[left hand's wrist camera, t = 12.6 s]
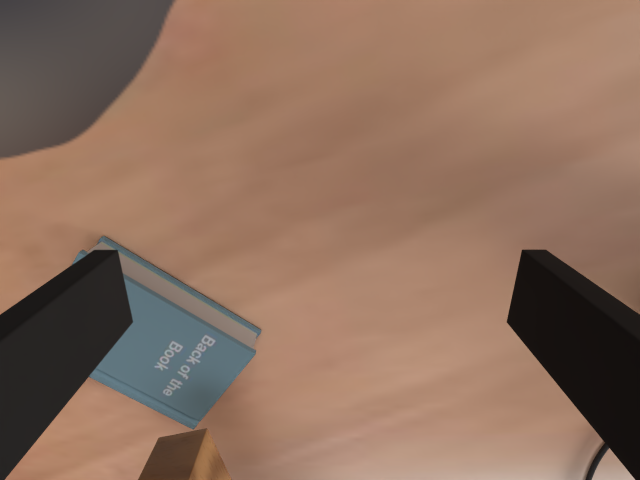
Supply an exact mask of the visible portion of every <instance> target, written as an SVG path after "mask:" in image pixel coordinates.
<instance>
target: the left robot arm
mask: <svg viewBox="0 0 640 480" xmlns="http://www.w3.org/2000/svg"><path fill="white" fill-rule="evenodd" d="M132 323H133V319H132V314H131V309H130V305H129V300H128V295H127V291H126V286H125V281H124V276H123V272H122V267H121V262H120V258H119V253H118V250H93V251H92V252H90V253H89V254H87V255H86V256H85V257H83V258H82V259H80V260H79V261H77V262H76V263H74V264H73V265H72V266H70V267H69V268H67V269H66V270H64V271H63V272H61V273H60V274H59V275H57V276H56V277H54V278H53V279H51V280H50V281H48V282H47V283H46V284H44V285H43V286H41V287H40V288H38V289H37V290H35V291H34V292H33V293H31V294H30V295H28V296H27V297H25V298H24V299H22V300H21V301H20V302H18V303H17V304H15V305H14V306H12V307H11V308H9V309H8V310H7V311H5V312H4V313H2V314H1V315H0V480H5V478H6V477H7V476H8V475H9V474H10V472H11V471H12V470H13V469H14V467H15V466H16V465H17V464H18V463H19V461H20V460H21V459H22V458H23V456H24V455H25V454H26V453H27V452H28V450H29V449H30V448H31V447H32V445H33V444H34V443H35V442H36V441H37V439H38V438H39V437H40V436H41V434H42V433H43V432H44V431H45V429H46V428H47V427H48V426H49V425H50V423H51V422H52V421H53V420H54V418H55V417H56V416H57V415H58V414H59V412H60V411H61V410H62V409H63V407H64V406H65V405H66V404H67V403H68V401H69V400H70V399H71V398H72V396H73V395H74V394H75V393H76V392H77V390H78V389H79V388H80V387H81V385H82V384H83V383H84V382H85V381H86V379H87V378H88V377H89V376H90V374H91V373H92V372H93V371H94V370H95V368H96V367H97V366H98V365H99V363H100V362H101V361H102V360H103V358H104V357H105V356H106V355H107V354H108V352H109V351H110V350H111V349H112V347H113V346H114V345H115V344H116V343H117V341H118V340H119V339H120V338H121V336H122V335H123V334H124V333H125V332H126V330H127V329H128V328H129V327H130V325H131V324H132ZM507 323H508V324H509V325H510V327H511V328H512V329H513V330H514V332H515V333H516V334H517V335H518V336H519V338H520V339H521V340H522V341H523V343H524V344H525V345H526V346H527V347H528V349H529V350H530V351H531V352H532V354H533V355H534V356H535V357H536V358H537V360H538V361H539V362H540V363H541V365H542V366H543V367H544V368H545V370H546V371H547V372H548V373H549V374H550V376H551V377H552V378H553V379H554V381H555V382H556V383H557V384H558V385H559V387H560V388H561V389H562V390H563V392H564V393H565V394H566V395H567V396H568V398H569V399H570V400H571V401H572V403H573V404H574V405H575V406H576V407H577V409H578V410H579V411H580V412H581V414H582V415H583V416H584V417H585V418H586V420H587V421H588V422H589V423H590V425H591V426H592V427H593V428H594V429H595V431H596V432H597V433H598V434H599V436H600V437H601V438H602V439H603V441H604V442H605V444H604V445H603V446H602V448H601V449H600V451H599V452H598V454H597V455H596V457H595V458H594V460H593V462H592V464H591V466H590V469H589V471H588V474H587V477H586V480H592V477H593V475H594V472H595V470H596V468H597V466H598V464H599V462H600V460H601V459H602V457H603V456H604V454H605V453H606V452H607V450H608V449H609V448H610V449H611V450H612V452H613V453H614V454H615V455H616V456H617V458H618V459H619V460H620V461H621V463H622V464H623V465H624V466H625V467H626V469H627V470H628V471H629V472H630V474H631V475H632V476H633V477H634V478H635V480H640V315H639V314H638V313H636V312H635V311H633V310H632V309H631V308H629V307H628V306H626V305H625V304H623V303H622V302H620V301H619V300H618V299H616V298H615V297H613V296H612V295H610V294H609V293H607V292H606V291H605V290H603V289H602V288H600V287H599V286H597V285H596V284H594V283H593V282H592V281H590V280H589V279H587V278H586V277H584V276H583V275H581V274H580V273H579V272H577V271H576V270H574V269H573V268H571V267H570V266H568V265H567V264H566V263H564V262H563V261H561V260H560V259H558V258H557V257H555V256H554V255H553V254H551V253H550V252H548V251H547V250H522V253H521V257H520V262H519V267H518V272H517V276H516V281H515V286H514V291H513V295H512V300H511V305H510V309H509V314H508V319H507Z"/></svg>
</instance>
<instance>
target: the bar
mask: <svg viewBox="0 0 640 480" xmlns="http://www.w3.org/2000/svg"><path fill="white" fill-rule="evenodd" d="M138 480H231V477H230V475H229V473H228V471H227V469H226V467H225V465H224V463H223V461H222V458H221V456H220V454H219V452H218V450H217V448H216V446H215V444H214V442H213V440H212V437H211V435H210V433H209V431H208V429H207V428H206V429H201V430H196V431H191V432H186V433H181V434H176V435H170V436H165V437H160V438H158V440H157V443H156V445H155V447H154V449H153V451H152V453H151V455H150V457H149V459H148V461H147V463H146V465H145V467H144V469H143V471H142V473H141V475H140V477H139V479H138Z"/></svg>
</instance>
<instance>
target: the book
mask: <svg viewBox="0 0 640 480" xmlns="http://www.w3.org/2000/svg"><path fill="white" fill-rule="evenodd" d="M93 250H118V253H119V258H120V262H121V267H122V272H123V276H124V281H125V286H126V291H127V295H128V300H129V305H130V309H131V314H132V319H133V323H132V324H131V325H130V327H129V328H128V329H127V330H126V332H125V333H124V334H123V335H122V336H121V338H120V339H119V340H118V341H117V343H116V344H115V345H114V346H113V347H112V349H111V350H110V351H109V352H108V354H107V355H106V356H105V357H104V358H103V360H102V361H101V362H100V363H99V365H98V366H97V367H96V368H95V370H94V371H93V372H92V373H91V374H90V376H89V377H91V378H93V379H94V380H96V381H98V382H100V383H102V384H104V385H106V386H108V387H110V388H112V389H114V390H116V391H118V392H120V393H122V394H124V395H126V396H128V397H130V398H132V399H134V400H136V401H138V402H140V403H142V404H144V405H146V406H148V407H150V408H152V409H154V410H156V411H158V412H160V413H162V414H164V415H166V416H168V417H170V418H171V419H173V420H175V421H177V422H179V423H181V424H183V425H185V426H187V427H189V428H191V429H194V428H195V427H196V426H197V424H198V422H199V421H201V420H202V418H203V417H204V416H205V415H206V414H207V412H208V411H209V410H210V409H211V408H212V406H213V405H214V404H215V403H216V401H217V400H218V399H219V398H220V397H221V395H222V394H223V393H224V392H225V391H226V389H227V388H228V387H229V386H230V384H231V383H232V382H233V381H234V380H235V378H236V377H237V376H238V375H239V374H240V372H241V371H242V370H243V369H244V367H245V366H246V365H247V364H248V363H249V361H250V360H251V359H252V358H253V357H254V355H255V353H256V350H254V349H253V348H254V344H255V340H256V338H257V337H258V336H259V335H260V333H261V330H260V329H259V328H257V327H255V326H254V325H252V324H250V323H248V322H247V321H245V320H243V319H242V318H240V317H238V316H237V315H235V314H233V313H232V312H230V311H228V310H227V309H225V308H223V307H222V306H220V305H218V304H217V303H215V302H213V301H212V300H210V299H208V298H207V297H205V296H203V295H202V294H200V293H198V292H197V291H195V290H193V289H192V288H190V287H188V286H187V285H185V284H183V283H182V282H180V281H178V280H177V279H175V278H173V277H172V276H170V275H168V274H167V273H165V272H163V271H162V270H160V269H158V268H157V267H155V266H153V265H152V264H150V263H148V262H147V261H145V260H143V259H142V258H140V257H138V256H136V255H135V254H133V253H131V252H130V251H128V250H126V249H125V248H123V247H121V246H120V245H118V244H116V243H115V242H113V241H111V240H110V239H108V238H106V237H105V236H103V237H101V238H100V240H99V242H98V243H97V245H96V246H95V247H93V248H92V249H90V250H89V251H87V252H86V251H84V250H82V251H80V252H79V253H78V255H77V257H76V259H75V260H74V262H73V264H74V263H76V262H77V261H79V260H80V259H82V258H83V257H85V256H86V255H87V254H89V253H90V252H92V251H93ZM73 264H72V265H73Z"/></svg>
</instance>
